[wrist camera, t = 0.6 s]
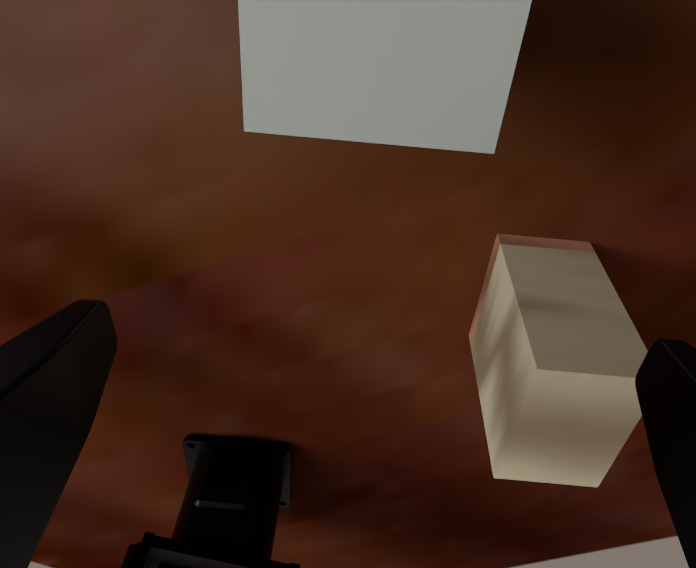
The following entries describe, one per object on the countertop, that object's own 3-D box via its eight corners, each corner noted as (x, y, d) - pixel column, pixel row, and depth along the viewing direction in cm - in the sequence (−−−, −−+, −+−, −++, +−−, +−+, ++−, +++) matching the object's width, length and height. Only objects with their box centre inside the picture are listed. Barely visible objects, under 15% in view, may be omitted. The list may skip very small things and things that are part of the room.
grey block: (484, -76, 17) (541, -38, 11) (459, 58, 20) (493, 153, 13) (291, -93, 17) (235, -66, 11) (290, 43, 20) (244, 131, 13)
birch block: (549, 342, 28) (597, 487, 21) (468, 335, 27) (493, 477, 21) (589, 241, 24) (663, 380, 18) (497, 233, 24) (537, 369, 17)
